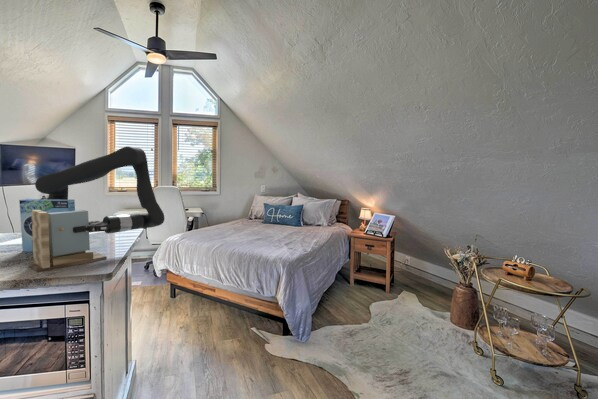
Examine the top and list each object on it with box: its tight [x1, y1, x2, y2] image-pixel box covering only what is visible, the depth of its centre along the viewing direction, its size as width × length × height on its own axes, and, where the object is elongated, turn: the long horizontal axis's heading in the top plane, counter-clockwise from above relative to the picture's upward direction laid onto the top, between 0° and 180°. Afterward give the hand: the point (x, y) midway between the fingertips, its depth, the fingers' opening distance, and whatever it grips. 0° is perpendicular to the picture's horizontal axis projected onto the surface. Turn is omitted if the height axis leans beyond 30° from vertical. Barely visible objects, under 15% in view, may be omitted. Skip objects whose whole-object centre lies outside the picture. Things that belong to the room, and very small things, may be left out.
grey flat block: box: [48, 209, 91, 256], centre depth 117 cm, size 5×12×16 cm, turn 145°
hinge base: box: [28, 210, 108, 273], centre depth 118 cm, size 11×22×21 cm, turn 145°
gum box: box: [18, 198, 76, 253], centre depth 133 cm, size 20×5×23 cm, turn 97°
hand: (71, 229), depth 118 cm, fingers closed on grey flat block, 4 cm apart
